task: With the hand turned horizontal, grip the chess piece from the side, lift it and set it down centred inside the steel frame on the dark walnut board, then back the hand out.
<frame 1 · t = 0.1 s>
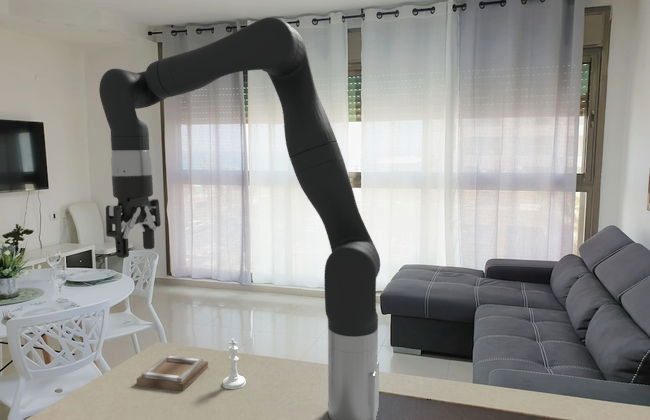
hand: (136, 252, 98), 29 cm above the kitchen counter, tool pointing down, fingers open, 8 cm apart
walnut board: (173, 376, 107), on the kitchen counter
chess piece: (234, 384, 103), on the kitchen counter
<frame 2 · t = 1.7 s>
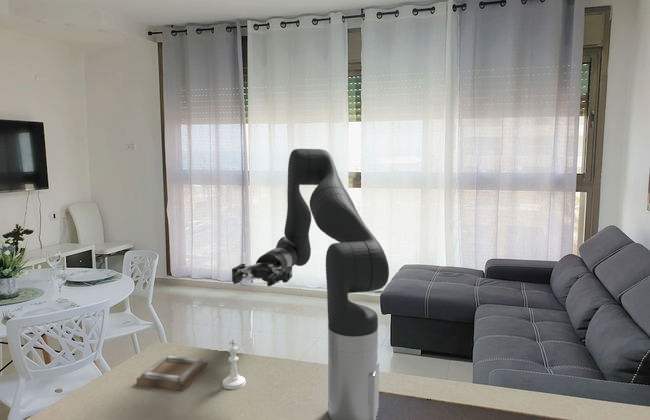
hand: (251, 280, 111), 20 cm above the kitchen counter, tool horizontal, fingers open, 8 cm apart
nothing on the kitchen counter moved.
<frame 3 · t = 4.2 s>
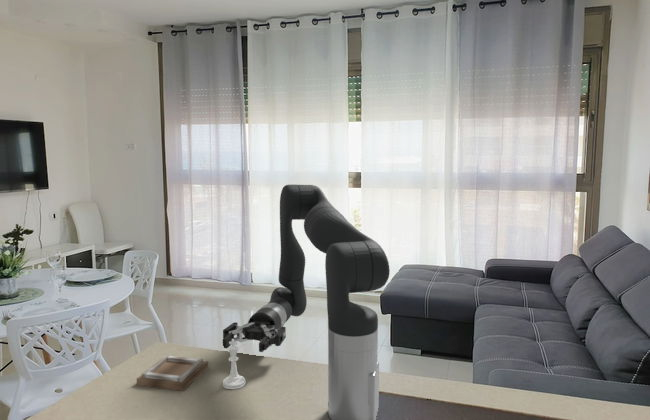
hand: (242, 346, 107), 6 cm above the kitchen counter, tool horizontal, fingers open, 8 cm apart
nothing on the kitchen counter moved.
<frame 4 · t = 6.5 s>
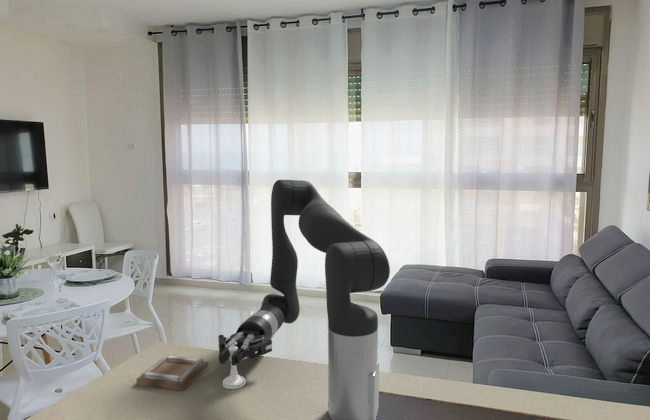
hand: (227, 360, 100), 7 cm above the kitchen counter, tool horizontal, fingers closed on chess piece
chess piece: (234, 384, 103), on the kitchen counter, touching gripper
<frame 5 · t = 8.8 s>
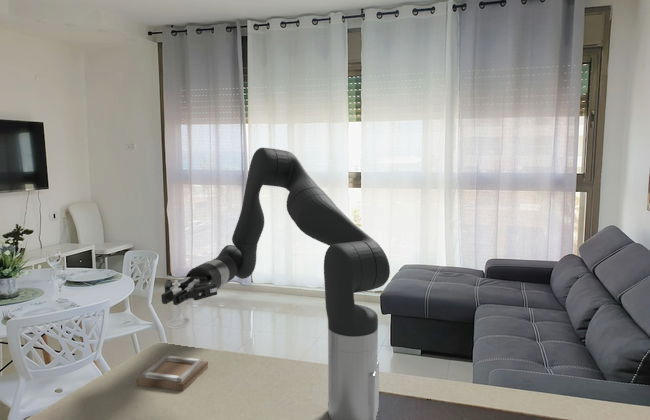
hand: (169, 300, 102), 18 cm above the kitchen counter, tool horizontal, fingers closed on chess piece
chess piece: (178, 325, 106), point 12 cm above the kitchen counter, touching gripper
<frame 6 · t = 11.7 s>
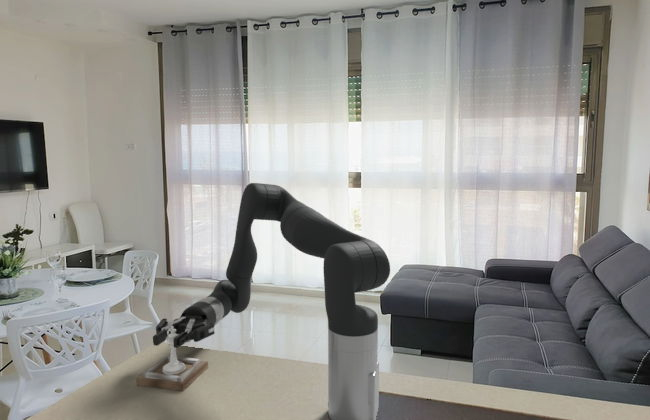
hand: (165, 342, 103), 9 cm above the kitchen counter, tool horizontal, fingers open, 4 cm apart
chess piece: (174, 370, 107), point 1 cm above the kitchen counter, touching walnut board
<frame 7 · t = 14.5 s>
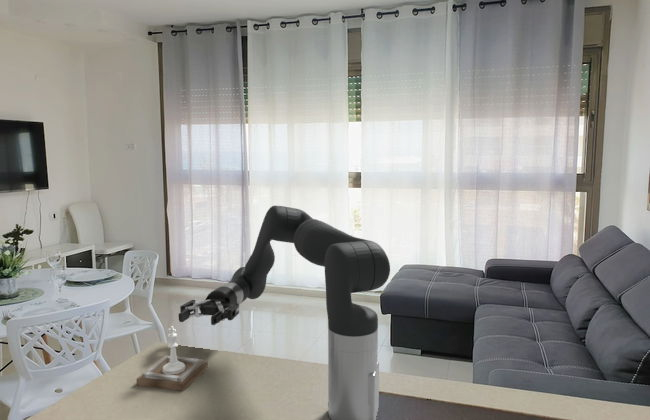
hand: (196, 319, 116), 9 cm above the kitchen counter, tool horizontal, fingers open, 8 cm apart
nothing on the kitchen counter moved.
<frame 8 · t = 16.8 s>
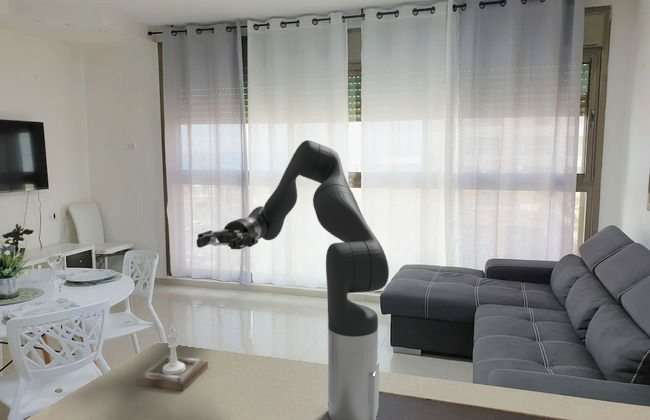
hand: (215, 244, 113), 28 cm above the kitchen counter, tool horizontal, fingers open, 8 cm apart
nothing on the kitchen counter moved.
at the end: chess piece 0.1 cm off-centre on the walnut board, point 1.3 cm above the walnut board's base; chess piece tilted 0°; the gripper is holding nothing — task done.
